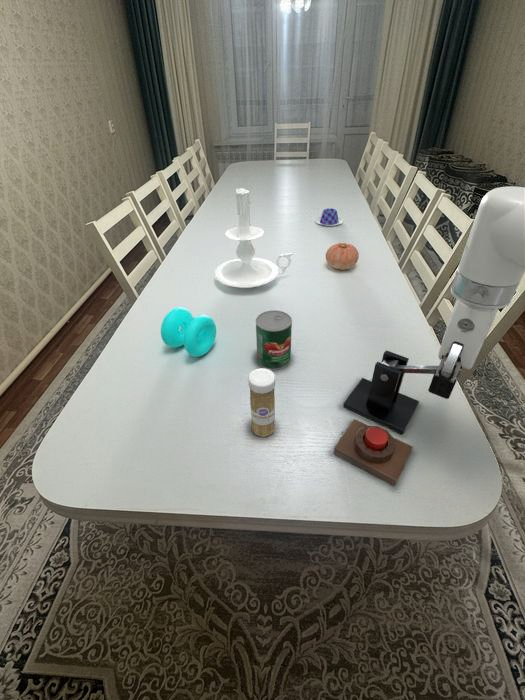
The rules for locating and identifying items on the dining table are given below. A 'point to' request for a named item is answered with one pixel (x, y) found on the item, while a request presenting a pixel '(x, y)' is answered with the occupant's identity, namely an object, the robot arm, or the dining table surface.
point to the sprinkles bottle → (262, 401)
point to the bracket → (383, 396)
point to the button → (375, 438)
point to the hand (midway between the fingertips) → (445, 379)
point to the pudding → (329, 218)
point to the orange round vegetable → (342, 256)
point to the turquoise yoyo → (188, 331)
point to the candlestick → (247, 253)
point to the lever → (414, 368)
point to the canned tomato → (273, 339)
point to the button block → (373, 453)
